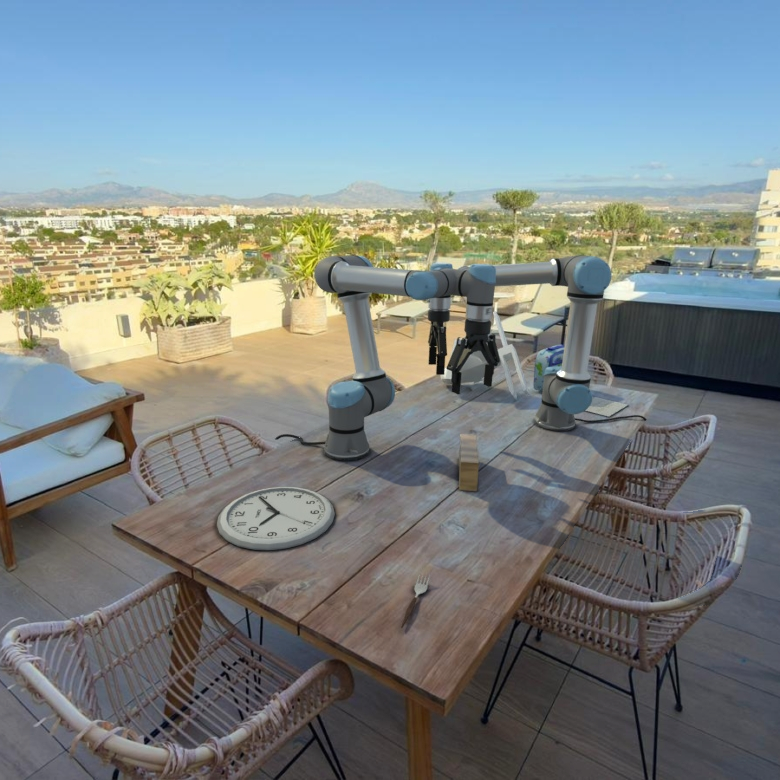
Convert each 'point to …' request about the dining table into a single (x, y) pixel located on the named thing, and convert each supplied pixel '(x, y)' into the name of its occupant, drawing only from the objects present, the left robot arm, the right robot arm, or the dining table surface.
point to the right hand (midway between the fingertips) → (436, 369)
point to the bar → (468, 463)
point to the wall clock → (275, 518)
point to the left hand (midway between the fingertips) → (471, 389)
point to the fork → (419, 589)
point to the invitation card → (605, 406)
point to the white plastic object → (476, 363)
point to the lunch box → (547, 363)
